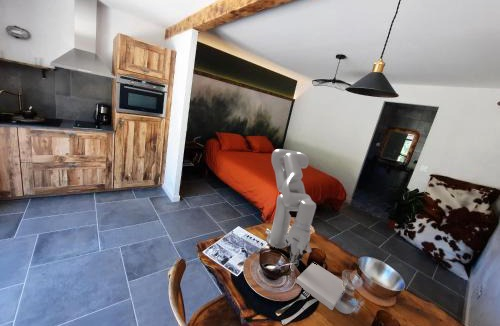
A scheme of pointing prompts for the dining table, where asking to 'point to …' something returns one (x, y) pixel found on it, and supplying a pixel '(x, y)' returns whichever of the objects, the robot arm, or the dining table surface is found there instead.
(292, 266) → the chalice
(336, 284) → the plinth
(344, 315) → the dining table surface
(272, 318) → the dining table surface
